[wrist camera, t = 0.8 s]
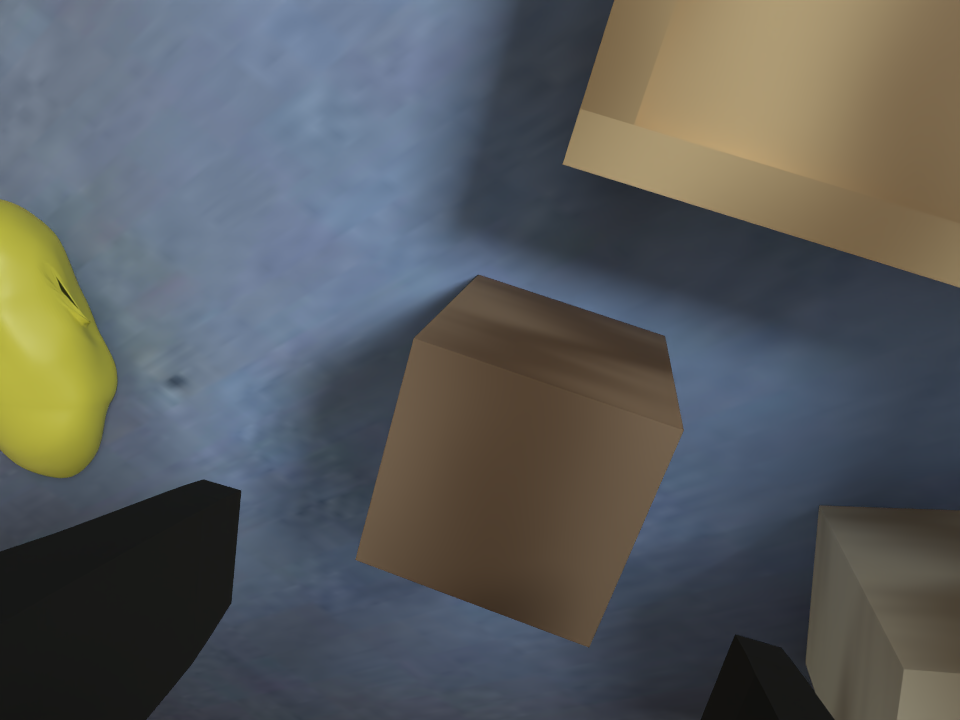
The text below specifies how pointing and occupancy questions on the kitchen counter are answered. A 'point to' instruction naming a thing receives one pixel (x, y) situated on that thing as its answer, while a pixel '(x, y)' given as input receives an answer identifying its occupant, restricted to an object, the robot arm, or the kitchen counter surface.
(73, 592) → the robot arm
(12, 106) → the kitchen counter surface
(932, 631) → the maple cube
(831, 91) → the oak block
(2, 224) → the yellow oval lump
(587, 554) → the walnut cube
